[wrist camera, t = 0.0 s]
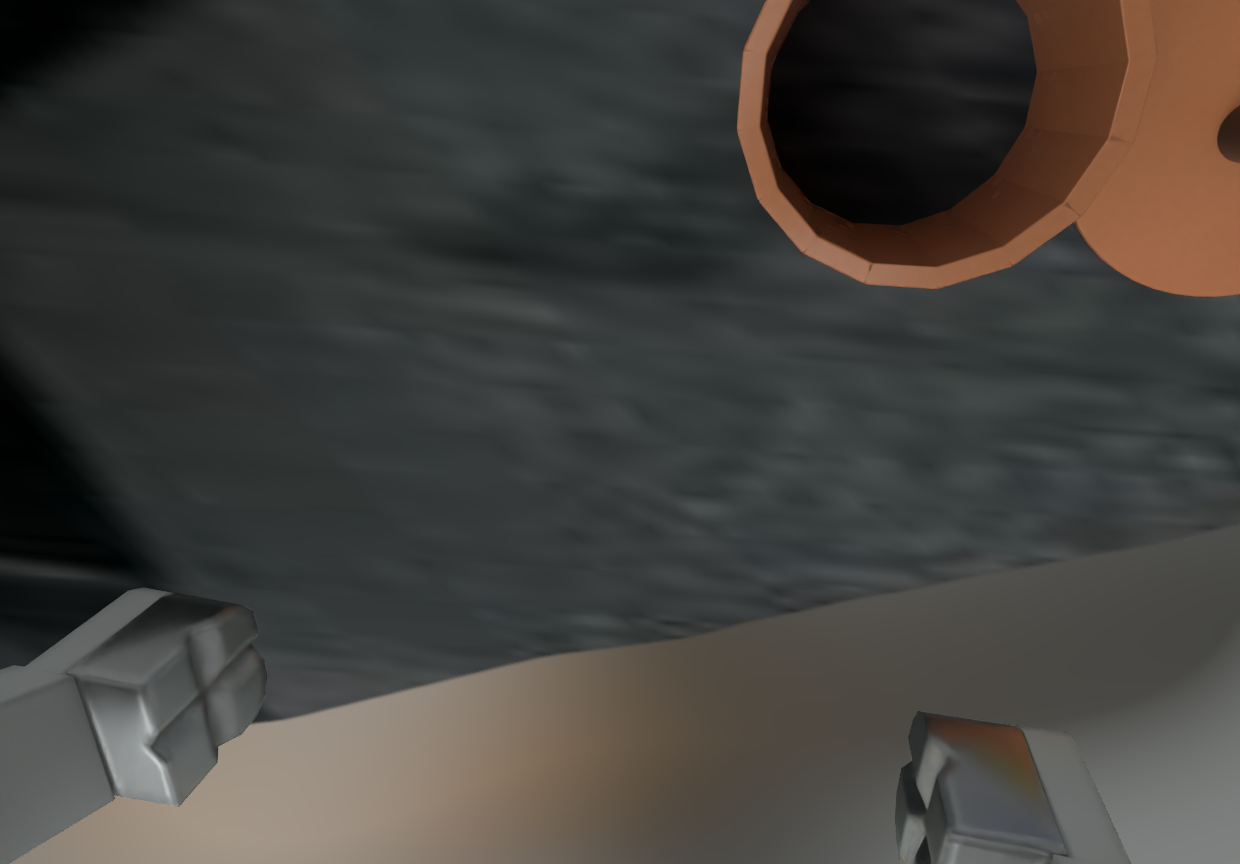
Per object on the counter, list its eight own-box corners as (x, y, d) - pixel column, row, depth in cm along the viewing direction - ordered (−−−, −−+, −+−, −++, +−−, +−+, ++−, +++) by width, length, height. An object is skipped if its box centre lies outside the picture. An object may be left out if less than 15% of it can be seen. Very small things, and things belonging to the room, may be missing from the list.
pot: (766, -68, 33) (757, -135, 23) (1084, -72, 31) (1215, -146, 21) (740, 231, 38) (725, 275, 29) (1011, 246, 36) (1091, 299, 26)
